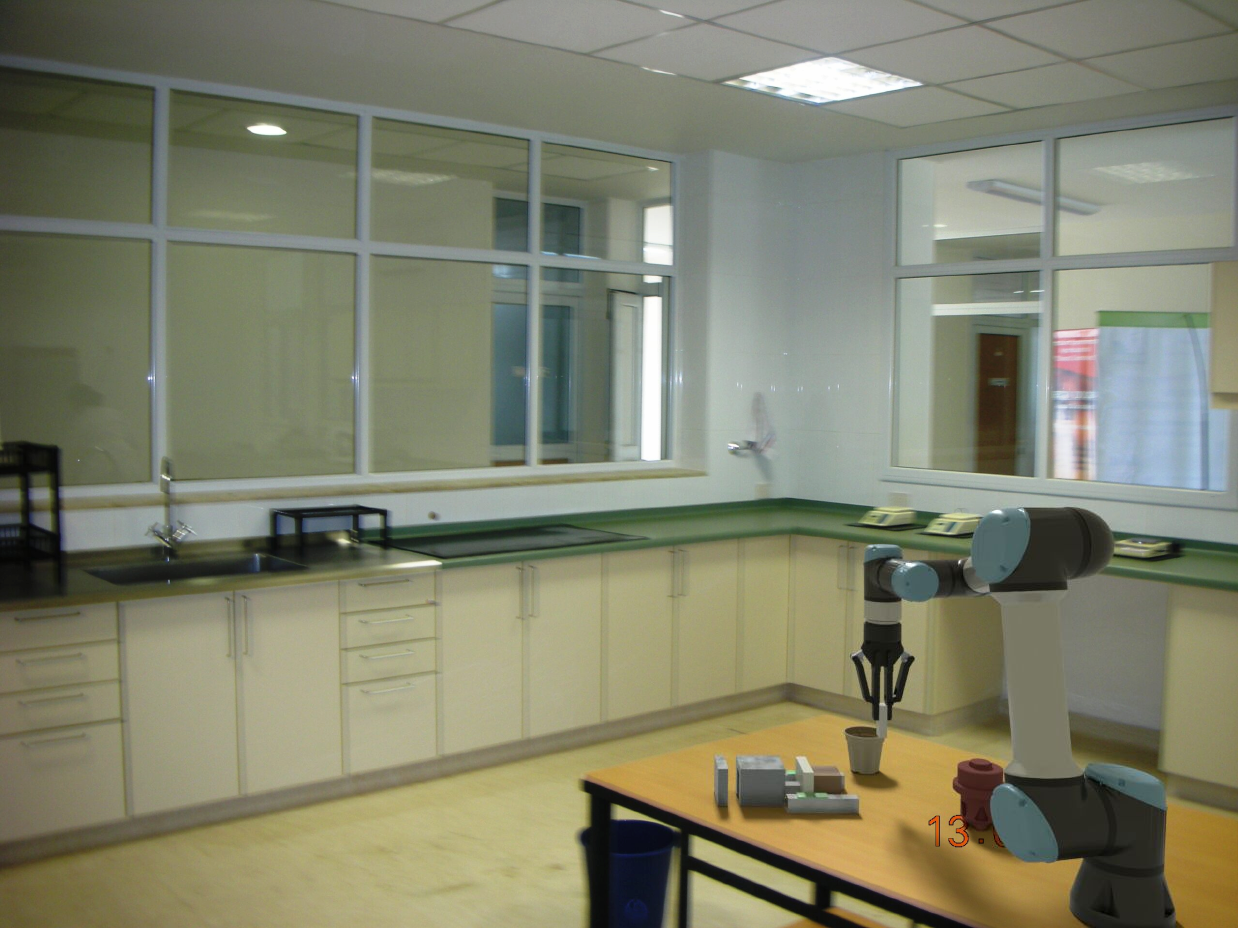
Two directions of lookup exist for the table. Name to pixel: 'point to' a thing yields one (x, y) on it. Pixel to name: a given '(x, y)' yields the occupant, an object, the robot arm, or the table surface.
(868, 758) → the flower pot
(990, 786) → the mechanical component
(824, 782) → the walnut block
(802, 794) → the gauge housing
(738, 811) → the table surface
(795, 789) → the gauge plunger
